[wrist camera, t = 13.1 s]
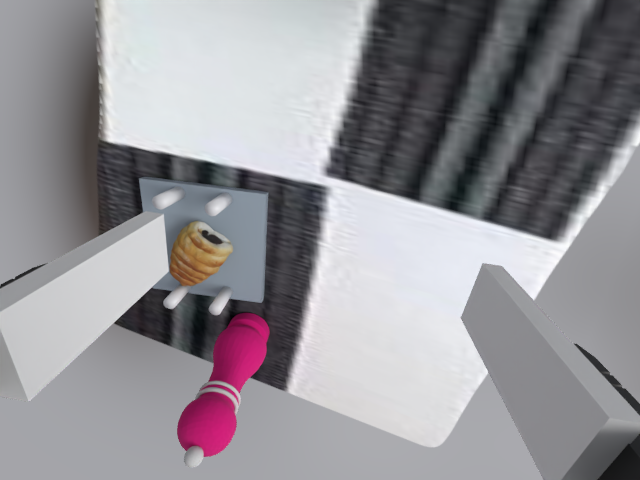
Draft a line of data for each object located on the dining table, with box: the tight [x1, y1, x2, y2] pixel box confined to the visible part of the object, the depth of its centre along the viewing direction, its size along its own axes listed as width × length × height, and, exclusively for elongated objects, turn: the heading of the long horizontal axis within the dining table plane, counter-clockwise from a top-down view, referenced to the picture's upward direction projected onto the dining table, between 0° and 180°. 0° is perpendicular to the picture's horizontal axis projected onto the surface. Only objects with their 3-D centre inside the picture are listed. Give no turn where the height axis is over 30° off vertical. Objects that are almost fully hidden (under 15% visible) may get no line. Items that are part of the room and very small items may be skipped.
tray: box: [139, 177, 268, 315], centre depth 40 cm, size 16×16×6 cm
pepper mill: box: [177, 313, 269, 468], centre depth 38 cm, size 7×7×20 cm
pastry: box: [170, 221, 233, 286], centre depth 40 cm, size 9×7×4 cm
